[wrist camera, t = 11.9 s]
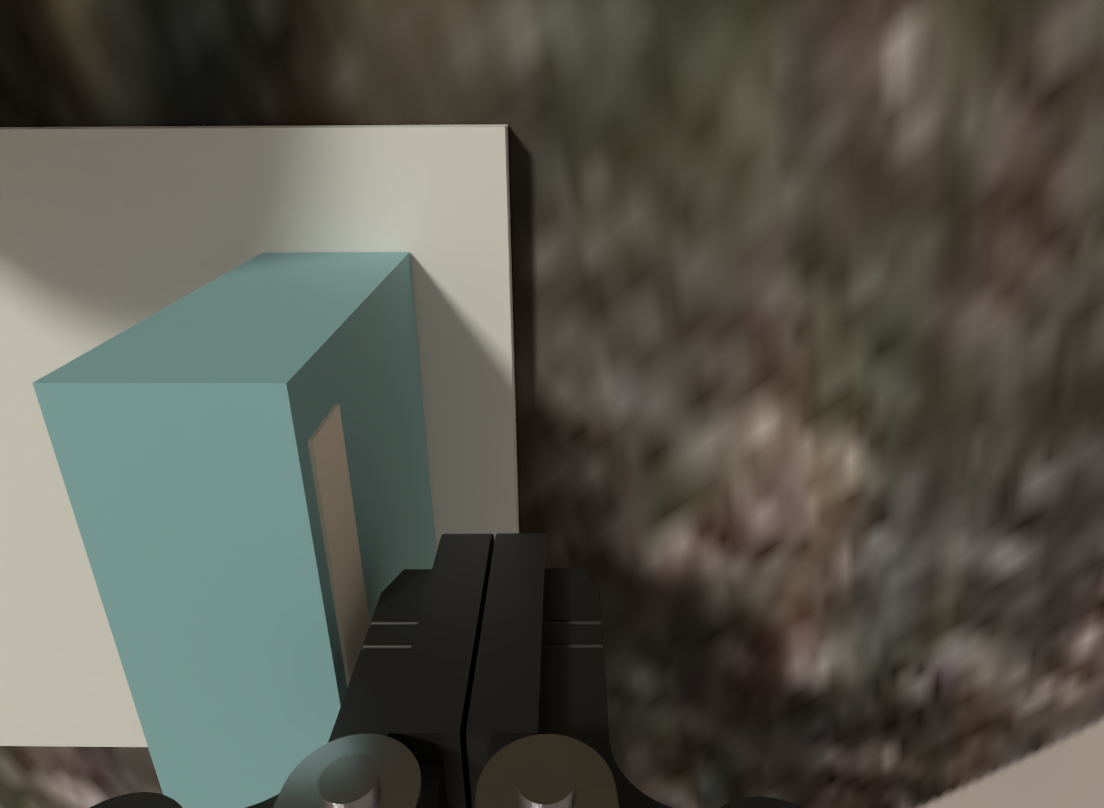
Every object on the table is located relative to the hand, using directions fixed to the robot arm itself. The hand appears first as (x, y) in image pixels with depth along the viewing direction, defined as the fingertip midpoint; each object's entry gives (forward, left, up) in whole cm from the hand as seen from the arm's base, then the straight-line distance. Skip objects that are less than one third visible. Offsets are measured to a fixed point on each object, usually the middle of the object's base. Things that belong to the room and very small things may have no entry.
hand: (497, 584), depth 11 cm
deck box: (0, -3, -4) cm, 5 cm away
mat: (+1, -7, -5) cm, 8 cm away
